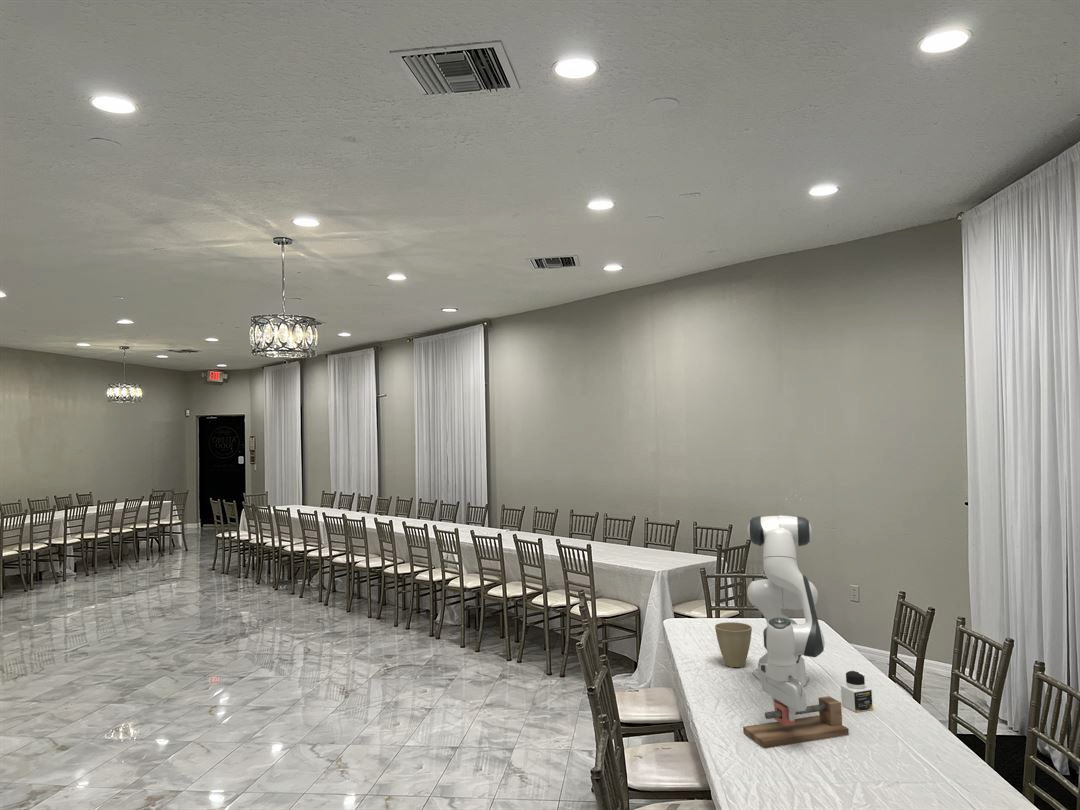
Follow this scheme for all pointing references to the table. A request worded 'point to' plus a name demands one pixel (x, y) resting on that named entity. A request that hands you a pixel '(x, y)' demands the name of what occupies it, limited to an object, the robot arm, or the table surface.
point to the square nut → (783, 714)
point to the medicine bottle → (856, 692)
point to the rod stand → (800, 726)
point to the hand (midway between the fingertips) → (784, 715)
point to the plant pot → (734, 642)
